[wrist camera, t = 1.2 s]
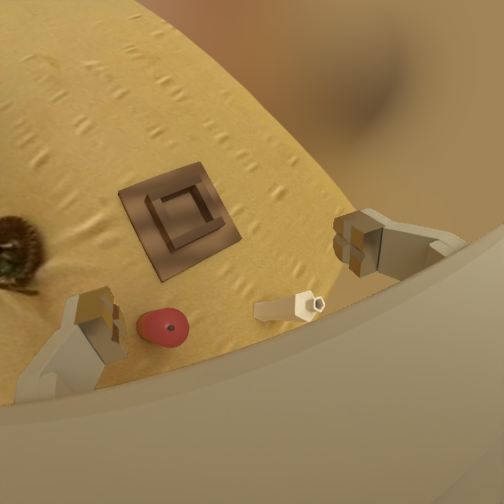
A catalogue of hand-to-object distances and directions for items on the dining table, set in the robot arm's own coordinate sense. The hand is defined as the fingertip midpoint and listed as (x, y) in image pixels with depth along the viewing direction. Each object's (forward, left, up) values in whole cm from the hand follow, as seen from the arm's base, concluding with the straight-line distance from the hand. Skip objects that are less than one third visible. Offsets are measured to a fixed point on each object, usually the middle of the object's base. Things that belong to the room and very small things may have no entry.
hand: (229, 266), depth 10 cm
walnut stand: (-9, +15, -36) cm, 40 cm away
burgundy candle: (+4, +2, -36) cm, 37 cm away
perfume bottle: (+12, +20, -37) cm, 43 cm away
